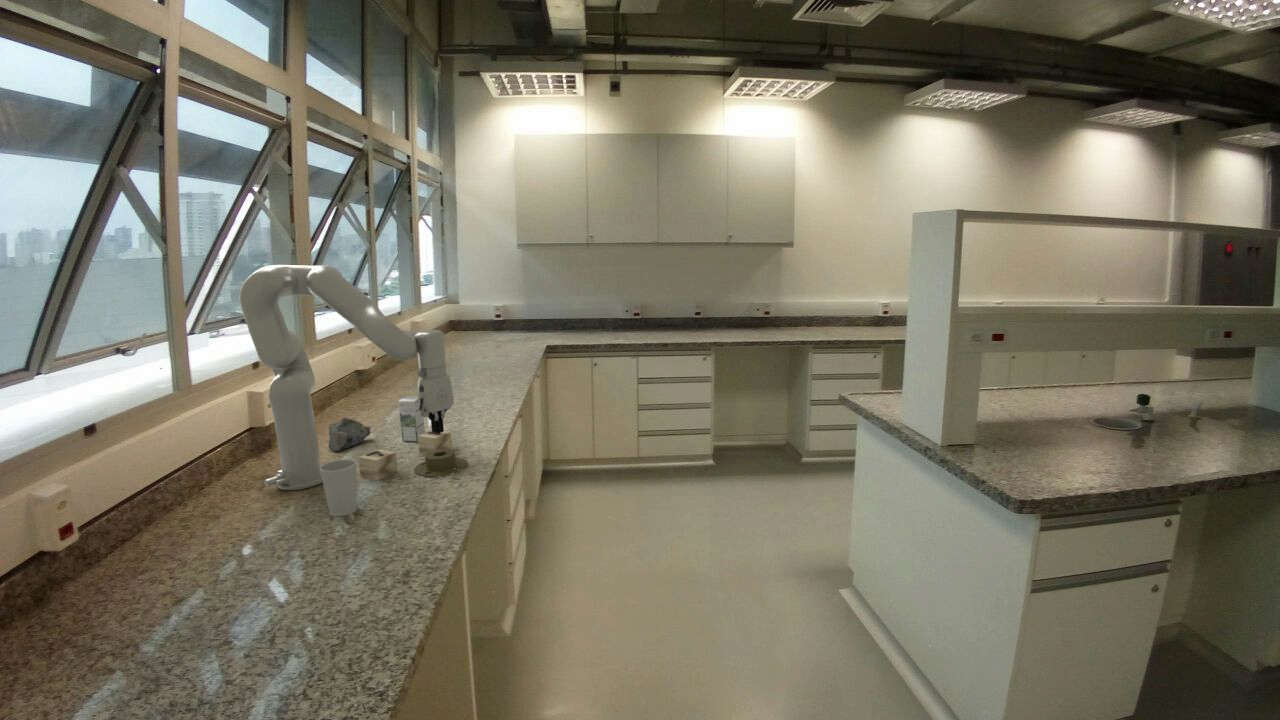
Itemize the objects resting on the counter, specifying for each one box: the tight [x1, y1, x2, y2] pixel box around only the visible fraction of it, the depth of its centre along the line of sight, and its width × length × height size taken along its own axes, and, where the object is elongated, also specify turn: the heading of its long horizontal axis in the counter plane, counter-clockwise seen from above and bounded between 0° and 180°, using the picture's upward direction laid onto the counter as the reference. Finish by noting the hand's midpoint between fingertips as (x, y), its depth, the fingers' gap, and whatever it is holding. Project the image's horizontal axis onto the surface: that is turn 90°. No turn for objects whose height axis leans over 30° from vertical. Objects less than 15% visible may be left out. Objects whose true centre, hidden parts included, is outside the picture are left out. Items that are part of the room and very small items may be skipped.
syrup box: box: [398, 396, 426, 443], centre depth 199 cm, size 6×6×14 cm
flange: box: [413, 449, 468, 478], centre depth 174 cm, size 5×15×15 cm
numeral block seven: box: [358, 448, 399, 481], centre depth 169 cm, size 7×7×6 cm
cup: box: [320, 458, 358, 517], centre depth 145 cm, size 8×8×12 cm
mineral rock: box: [328, 417, 372, 452], centre depth 194 cm, size 13×11×10 cm
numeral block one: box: [417, 430, 453, 455], centre depth 187 cm, size 7×7×6 cm
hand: (437, 431), depth 176 cm, fingers closed
